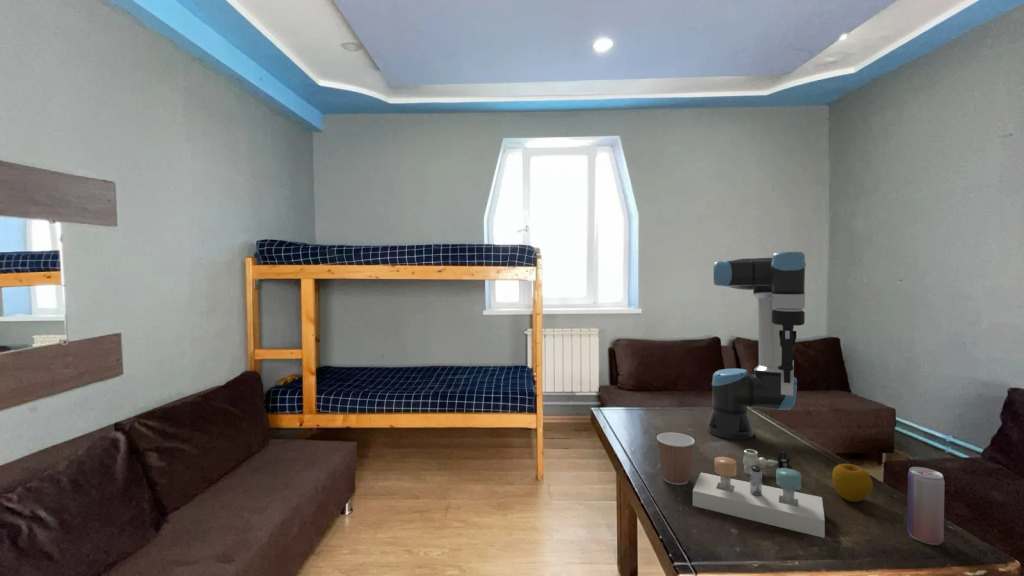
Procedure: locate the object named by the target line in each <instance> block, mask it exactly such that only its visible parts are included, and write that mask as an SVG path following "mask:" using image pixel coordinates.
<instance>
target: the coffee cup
mask: <svg viewBox="0 0 1024 576" xmlns="http://www.w3.org/2000/svg"><path fill="white" fill-rule="evenodd" d="M656 439H657V442H658V450H659V460H660V467H661V468H660V469H661V474H662V479H663V480H664V481H665V482H667V483H668V484H672V485H675V486H676V485H679V486H681V485H687V484H688V483H689V480H690V477H691V475H690V474H691V467H692V458H693V452H694V450H693V449H694V444H695V442H696V441H695V439H694V437H692V436H690V435H687V434H684V433H679V432H663V433H658V435H657V436H656Z"/></svg>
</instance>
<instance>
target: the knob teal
mask: <svg viewBox="0 0 1024 576" xmlns="http://www.w3.org/2000/svg"><path fill="white" fill-rule="evenodd" d="M775 472H776V473H775V474H776V475H775V481H776V482H775V483H776V485H777V486H779V487H780V488H781V489H783V501H784V502H786V503H794V492H795V491H798V490H801V489H802V474H801V473H800V472H799V471H798V470H795V469H793V468H792V469H788V468H786V467H785V468H777V469H776V470H775Z"/></svg>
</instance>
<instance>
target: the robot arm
mask: <svg viewBox="0 0 1024 576" xmlns="http://www.w3.org/2000/svg"><path fill="white" fill-rule="evenodd" d="M806 265H807V264H806V256H805V253H804V252H802V251H783V252H782V251H780V252H779V251H778V252H773V254H772V257H760V258H759V257H757V258H739V259H732V260H719V261H715V262H714V263H713V284H714V285H715V286H717V287H718V286H719V287H727V288H732V289H734V290H735V289H736V290H743V291H744V290H747V291H748V290H749V291H751V290H752V291H753V296H754V297H755V298H756V299H757V303H758V305H757V306H758V309H757V310H758V312H757V314H758V315H757V317H758V321H757V322H758V325H757V327H758V331H757V332H758V365H757V366H756V367H755V368H753V370H754V371H753V373H752V374H751V373H749V372H748V370H747V369H744V368H738V367H737V368H724V369H718V370H717V371H715V372H714V373H713V374H712V382H711V386H712V411H711V413H710V416H709V418H708V422H707V431H708V432H709V433H710V434H711V435H713V436H716V437H719V438H722V439H727V440H737V441H739V440H741V441H742V440H748V439H751V438H752V437H754V429H753V426H752V422H751V421H750V417H749V415H748V414H749V413H748V408H749V407H751V408H758V409H759V408H760V409H769V410H771V409H772V410H776V411H779V410H781V411H782V410H783V411H786V410H787V411H788V410H789V411H790V410H791V409H793V407H794V405H795V403H796V398H797V392H798V391H797V390H798V379H797V377H795V375H794V373H795V372H794V370H795V365H794V363H795V361H796V360H797V356H796V355H795V353H794V349H795V348H796V340H797V330H794V328H795V326H796V327H797V326H803V325H804V324H805V323H806V322H805V319H806V318H805V317H806V316H805V315H806V314H805V311H804V309H806V293H805V288H806V287H805V284H806V283H805V277H806Z"/></svg>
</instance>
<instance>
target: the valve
mask: <svg viewBox="0 0 1024 576" xmlns="http://www.w3.org/2000/svg"><path fill="white" fill-rule="evenodd" d="M758 455H759V452H758V451H757V450H755V449H752V448H746V449H744V451H743V458H742V459H743V460H742V463H743V467H744V468H743V472H744V473H745V474H746V475H749V476H750V469H751V468H752V466H758V467H760V468H761V469H766V467H767V466H769V467H775V465H776V467H777V469H779V468H788V469H792V470H793V467H792V465H791V464H790V462H791V458H790V457H788V453H787V452H786V451H779V452H778V456H776V459H775V460H774V459H766V458H765V457H763V456H761V457H760V456H758Z"/></svg>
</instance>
